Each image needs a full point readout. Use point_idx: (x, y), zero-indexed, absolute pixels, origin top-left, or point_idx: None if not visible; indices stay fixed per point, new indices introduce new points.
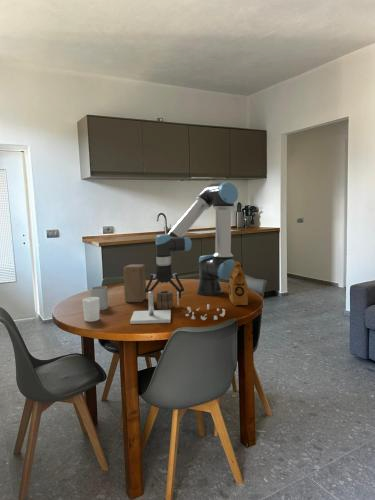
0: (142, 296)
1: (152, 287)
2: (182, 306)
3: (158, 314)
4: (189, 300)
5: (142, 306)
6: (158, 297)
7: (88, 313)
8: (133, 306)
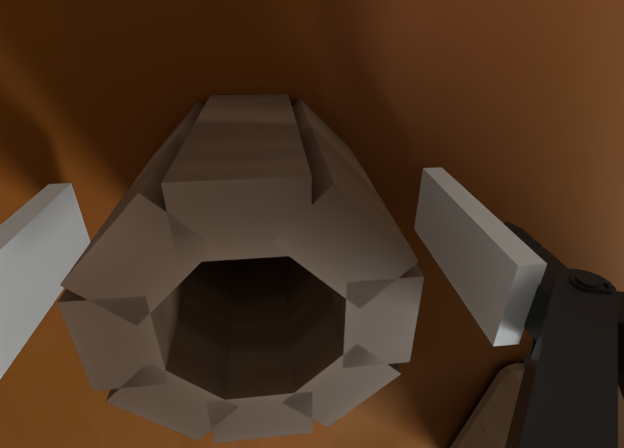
0: None
1: (606, 378)
2: None
3: None
4: (29, 421)
5: None
6: (371, 196)
7: None
8: (600, 248)
